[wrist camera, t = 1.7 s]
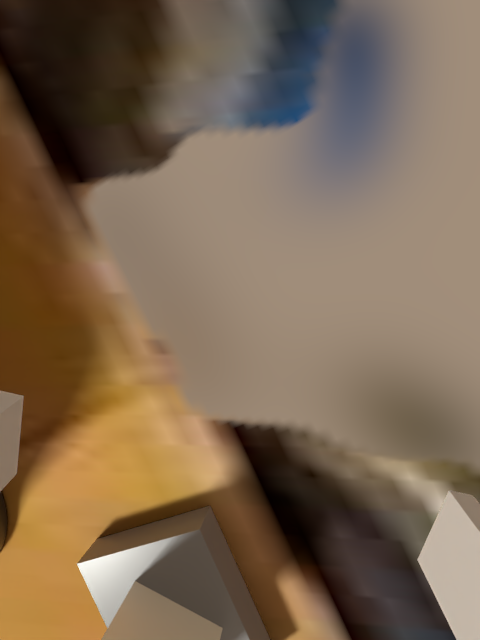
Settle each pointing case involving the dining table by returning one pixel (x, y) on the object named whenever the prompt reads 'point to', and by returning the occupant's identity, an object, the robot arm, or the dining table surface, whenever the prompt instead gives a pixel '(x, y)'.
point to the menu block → (157, 619)
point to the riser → (175, 572)
